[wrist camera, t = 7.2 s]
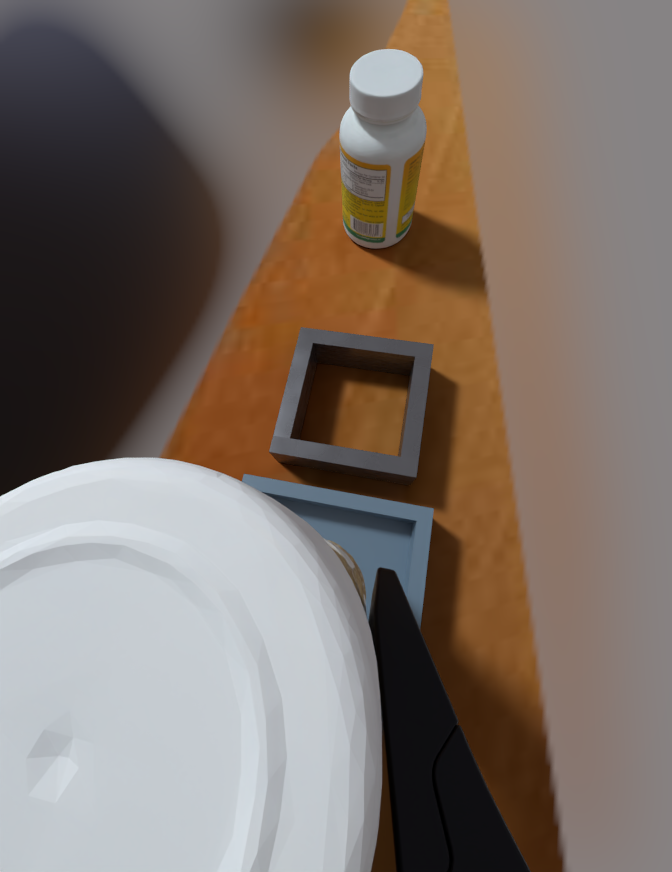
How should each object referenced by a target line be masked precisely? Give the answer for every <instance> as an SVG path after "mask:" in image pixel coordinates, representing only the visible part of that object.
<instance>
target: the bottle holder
mask: <svg viewBox="0 0 672 872" xmlns="http://www.w3.org/2000/svg"><path fill="white" fill-rule="evenodd" d="M433 345H434V344H426V343H418V342H410V341H403V340H395V339H387V338H380V337H372V336H364V335H356V334H349V333H341V332H333V331H326V330H318V329H310V328H302V327H301V329H300V333H299V337H298V341H297V345H296V349H295V353H294V357H293V360H292V364H291V368H290V372H289V376H288V380H287V384H286V388H285V392H284V396H283V400H282V403H281V407H280V411H279V415H278V419H277V423H276V427H275V431H274V435H273V439H272V443H271V447H270V450H269V452H270V453H271V455H272V456H273V457H274V458H275V459H276V460H277V461H278V462H280V463H285V464H291V465H297V466H302V467H308V468H314V469H319V470H325V471H331V472H336V473H342V474H348V475H353V476H359V477H365V478H370V479H376V480H382V481H387V482H393V483H399V484H404V485H410V486H411V484H412V483H413V481H414V480H415V479H416V477H417V469H418V461H419V453H420V446H421V438H422V430H423V422H424V415H425V407H426V399H427V391H428V384H429V376H430V368H431V360H432V353H433ZM317 363H324V364H331V365H338V366H345V367H352V368H359V369H366V370H373V371H380V372H387V373H395V374H402V375H409V376H410V378H409V385H408V392H407V398H406V405H405V412H404V419H403V426H402V432H401V439H400V446H399V453H398V456H392V455H386V454H380V453H374V452H368V451H362V450H356V449H350V448H345V447H339V446H333V445H327V444H321V443H315V442H309V441H303V440H300V435H301V431H302V427H303V422H304V418H305V414H306V409H307V405H308V401H309V397H310V392H311V388H312V384H313V379H314V375H315V371H316V366H317Z"/></svg>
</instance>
